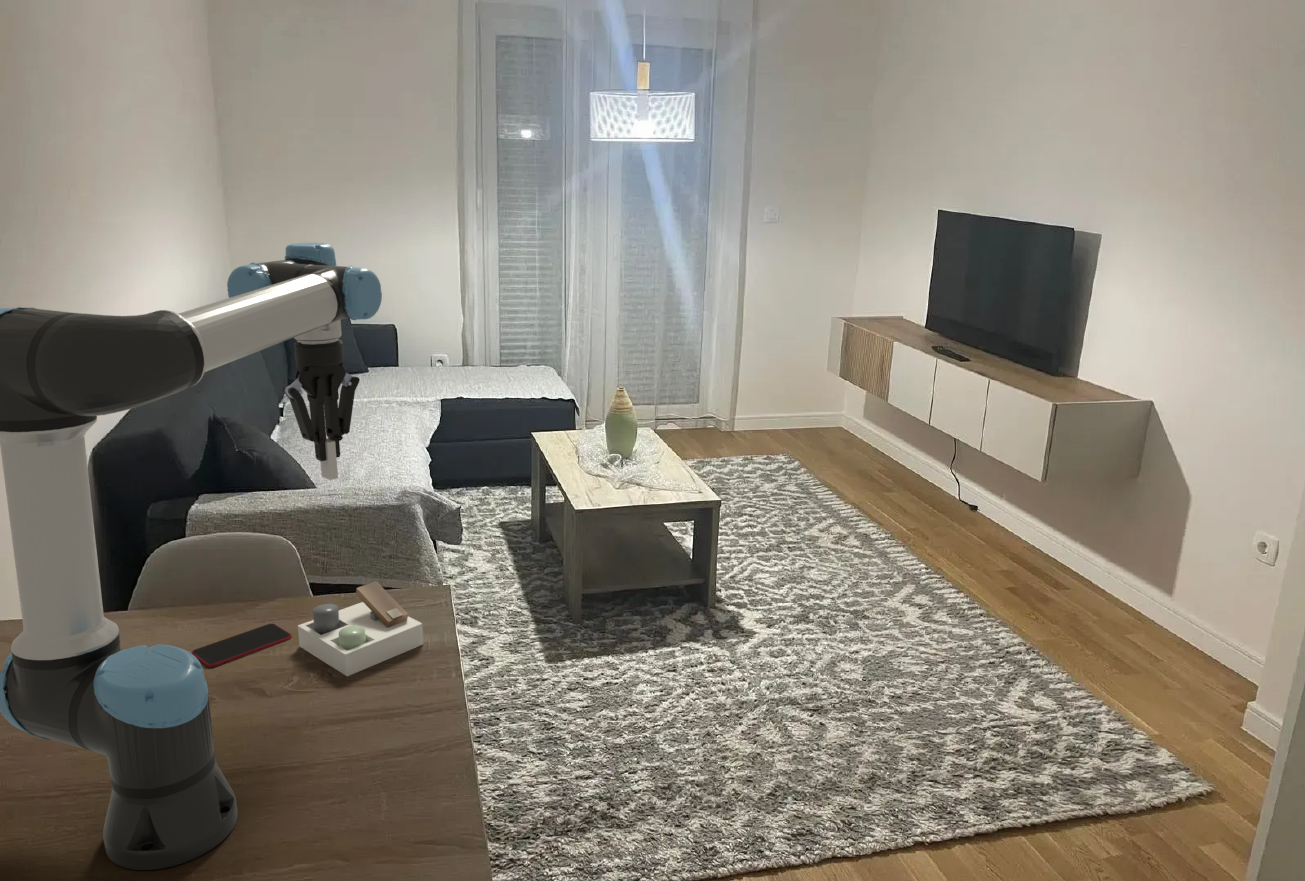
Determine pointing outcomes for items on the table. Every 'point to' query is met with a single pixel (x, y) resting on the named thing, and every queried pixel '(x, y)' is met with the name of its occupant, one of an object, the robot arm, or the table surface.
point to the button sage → (351, 637)
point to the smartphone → (240, 645)
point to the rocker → (381, 604)
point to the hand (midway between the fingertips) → (329, 477)
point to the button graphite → (326, 618)
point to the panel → (375, 650)
